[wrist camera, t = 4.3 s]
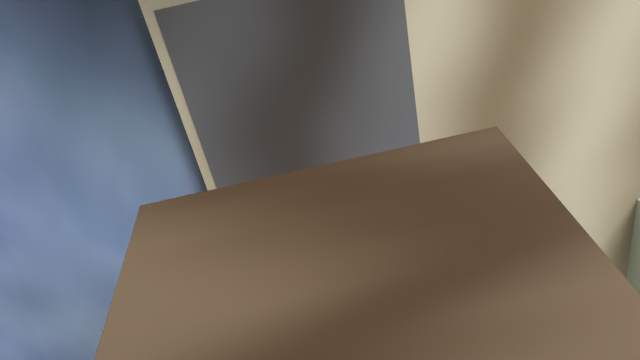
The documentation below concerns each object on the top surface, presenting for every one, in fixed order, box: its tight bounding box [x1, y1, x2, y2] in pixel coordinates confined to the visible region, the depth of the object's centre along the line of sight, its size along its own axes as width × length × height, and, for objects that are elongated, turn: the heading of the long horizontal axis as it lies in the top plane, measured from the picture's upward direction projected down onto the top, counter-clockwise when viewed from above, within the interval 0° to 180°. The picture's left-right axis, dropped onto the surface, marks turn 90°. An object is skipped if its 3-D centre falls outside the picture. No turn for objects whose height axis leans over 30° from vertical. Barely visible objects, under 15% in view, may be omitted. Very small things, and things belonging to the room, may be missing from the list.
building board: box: [138, 0, 640, 278], centre depth 18 cm, size 19×18×1 cm
